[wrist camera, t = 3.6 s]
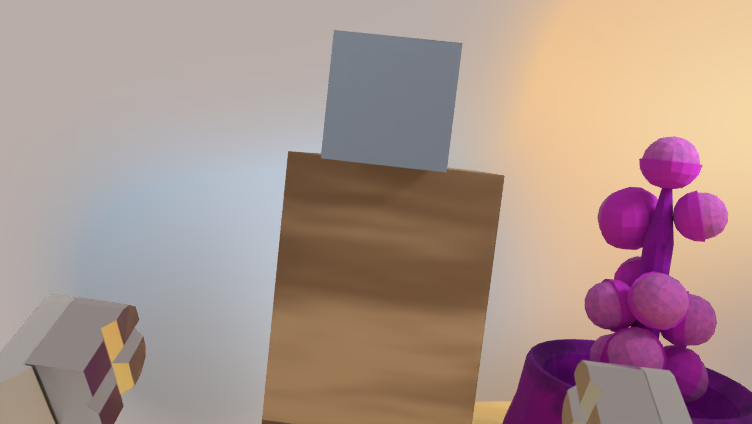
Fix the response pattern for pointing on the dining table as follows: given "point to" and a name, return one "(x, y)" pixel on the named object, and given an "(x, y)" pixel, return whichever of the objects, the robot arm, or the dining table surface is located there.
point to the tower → (380, 293)
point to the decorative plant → (643, 301)
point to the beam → (391, 100)
